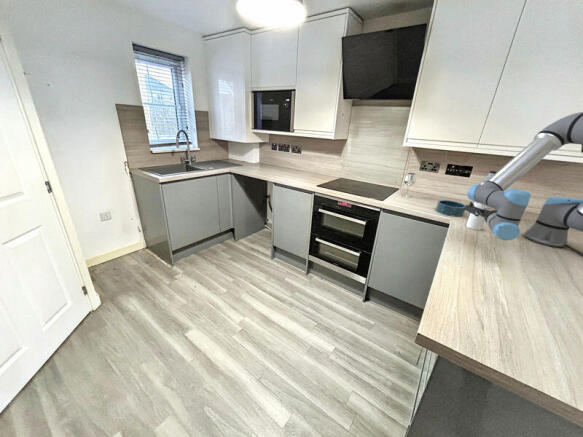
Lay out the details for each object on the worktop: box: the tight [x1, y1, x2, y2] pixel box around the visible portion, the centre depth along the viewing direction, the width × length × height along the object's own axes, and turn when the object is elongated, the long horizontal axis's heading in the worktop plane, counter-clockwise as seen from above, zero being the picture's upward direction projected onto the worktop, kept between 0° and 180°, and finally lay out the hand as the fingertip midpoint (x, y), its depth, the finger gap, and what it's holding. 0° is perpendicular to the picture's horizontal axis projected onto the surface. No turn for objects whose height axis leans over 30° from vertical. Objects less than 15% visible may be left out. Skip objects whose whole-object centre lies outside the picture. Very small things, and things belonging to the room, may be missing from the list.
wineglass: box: [401, 172, 417, 198], centre depth 185 cm, size 8×8×18 cm
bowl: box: [435, 199, 467, 217], centre depth 154 cm, size 16×16×6 cm
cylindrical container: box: [465, 182, 491, 231], centre depth 129 cm, size 7×7×25 cm
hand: (486, 206), depth 121 cm, fingers open, 13 cm apart
